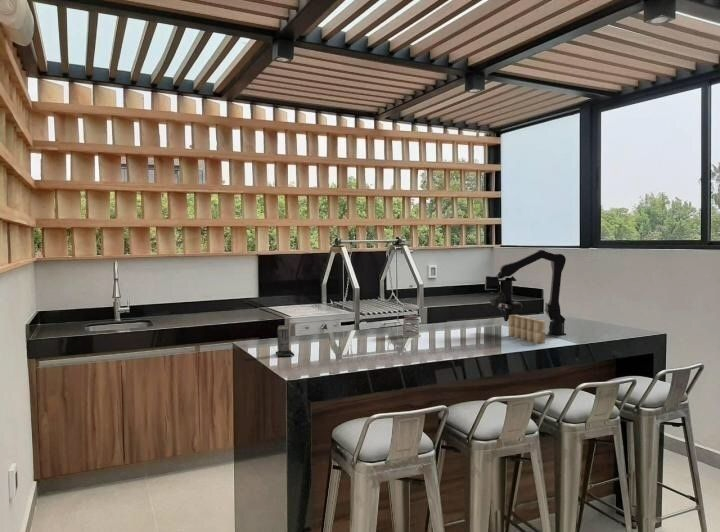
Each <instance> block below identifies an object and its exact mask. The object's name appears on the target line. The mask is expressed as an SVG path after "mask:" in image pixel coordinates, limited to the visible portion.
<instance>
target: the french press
mask: <svg viewBox="0 0 720 532" xmlns="http://www.w3.org/2000/svg"><path fill="white" fill-rule="evenodd" d="M408 287H409V288H414V285H413V284H410V285H409V286H408ZM402 309H403V310H400V311H399V312H398V314H397V322H398V324H399V325H400V326H401V327H402V334H401V335H402V336H403V338H407V337H411V339H412V338H414V337H415V338H416V337H417V338H421V337H422V335H421V334H420V318H419V315H416V314H414V315H413V314H405V315H404V313H405V312H404V310H406V311H408V310H410V311H413V310H415V311H417V310H420V307H419V306H418V305H414V304H413V303H410V304H408V305H405V306H404V307H402ZM401 313H402V314H403V315H404V316H403V319H402V320H403V321H402V322H403V324H402V323H400V321H399V315H400V314H401ZM402 336H401V337H402Z"/></svg>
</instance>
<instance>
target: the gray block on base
mask: <svg viewBox="0 0 720 532" xmlns="http://www.w3.org/2000/svg"><path fill="white" fill-rule="evenodd" d="M277 349H278V350H277V351H275V353H274V354H275V355H276V356H278V357H282V356H283V357H284V356H292V357H293V356H295V354H294V352H293V351H292V350H290V334H289V327H288V325H284V324H283V325H278V327H277Z"/></svg>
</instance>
